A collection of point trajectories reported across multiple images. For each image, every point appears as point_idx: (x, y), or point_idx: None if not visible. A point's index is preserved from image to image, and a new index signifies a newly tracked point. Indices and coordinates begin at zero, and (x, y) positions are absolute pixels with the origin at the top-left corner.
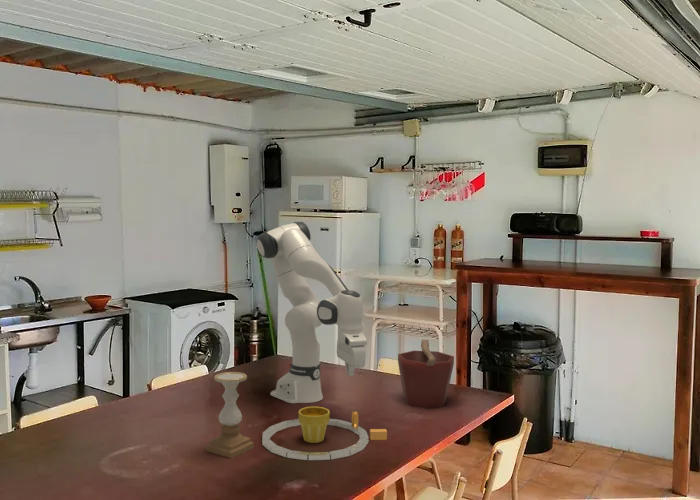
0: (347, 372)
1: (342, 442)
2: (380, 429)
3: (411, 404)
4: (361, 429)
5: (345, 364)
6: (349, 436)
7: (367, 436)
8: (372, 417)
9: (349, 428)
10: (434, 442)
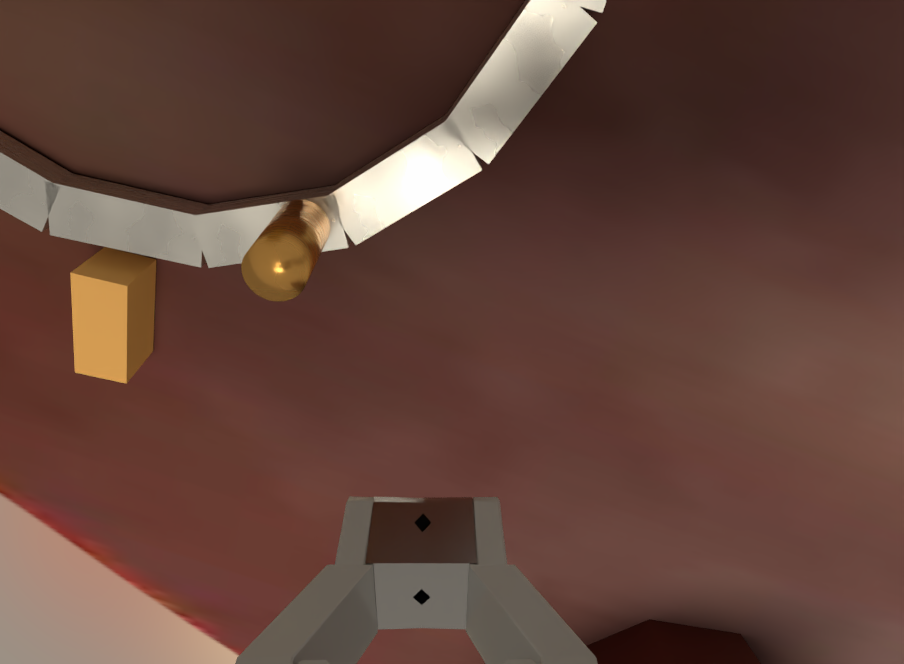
0: (436, 524)
1: (70, 24)
2: (120, 349)
3: (632, 633)
4: (224, 246)
5: (554, 653)
6: (204, 133)
7: (68, 232)
8: (539, 409)
9: (334, 185)
10: (69, 528)
